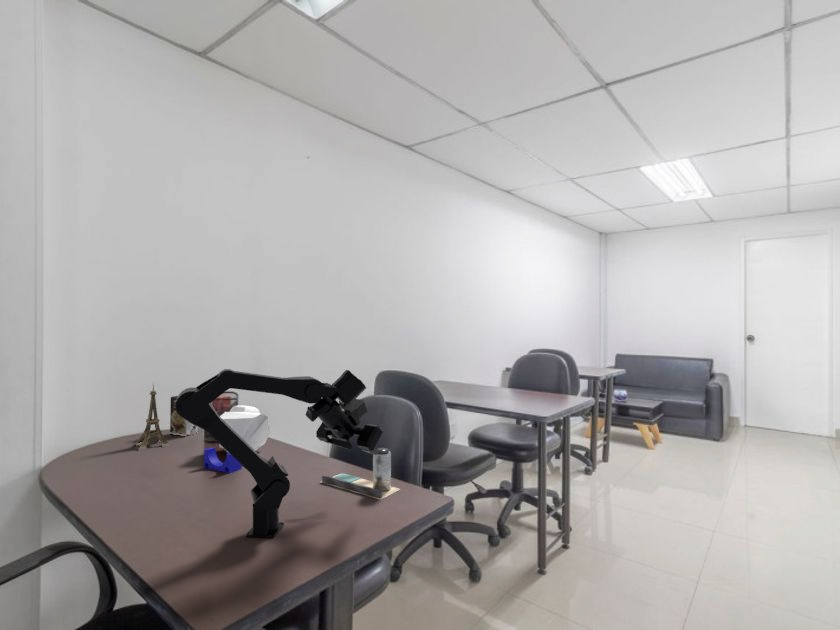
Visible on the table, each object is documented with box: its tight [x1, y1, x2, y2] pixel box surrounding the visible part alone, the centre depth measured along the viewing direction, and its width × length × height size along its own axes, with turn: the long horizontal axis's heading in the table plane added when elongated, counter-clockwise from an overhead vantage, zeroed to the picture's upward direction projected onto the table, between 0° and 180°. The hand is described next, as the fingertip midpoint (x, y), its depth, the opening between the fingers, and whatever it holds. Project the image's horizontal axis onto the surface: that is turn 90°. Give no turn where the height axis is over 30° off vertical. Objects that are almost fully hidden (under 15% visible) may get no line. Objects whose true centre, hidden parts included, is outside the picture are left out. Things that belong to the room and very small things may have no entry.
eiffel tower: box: [136, 383, 169, 448], centre depth 171 cm, size 11×11×25 cm
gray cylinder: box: [372, 447, 392, 492], centre depth 125 cm, size 5×5×11 cm
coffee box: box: [169, 395, 199, 434], centre depth 188 cm, size 9×6×16 cm
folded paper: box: [218, 404, 271, 454], centre depth 161 cm, size 17×24×17 cm
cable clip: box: [203, 446, 242, 474], centre depth 145 cm, size 12×4×6 cm, turn 63°
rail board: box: [320, 473, 401, 501], centre depth 127 cm, size 23×9×3 cm, turn 56°
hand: (363, 450), depth 118 cm, fingers open, 9 cm apart
